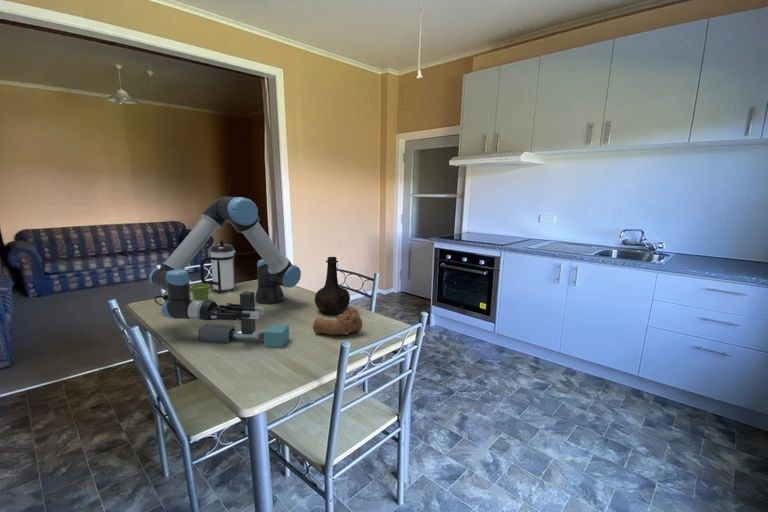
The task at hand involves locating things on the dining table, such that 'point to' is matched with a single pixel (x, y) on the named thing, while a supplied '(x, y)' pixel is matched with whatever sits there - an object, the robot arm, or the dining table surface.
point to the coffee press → (220, 267)
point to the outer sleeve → (215, 333)
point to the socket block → (276, 335)
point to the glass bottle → (332, 292)
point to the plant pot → (200, 291)
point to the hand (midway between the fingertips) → (261, 313)
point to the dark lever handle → (247, 324)
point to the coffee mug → (165, 297)
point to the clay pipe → (339, 323)
